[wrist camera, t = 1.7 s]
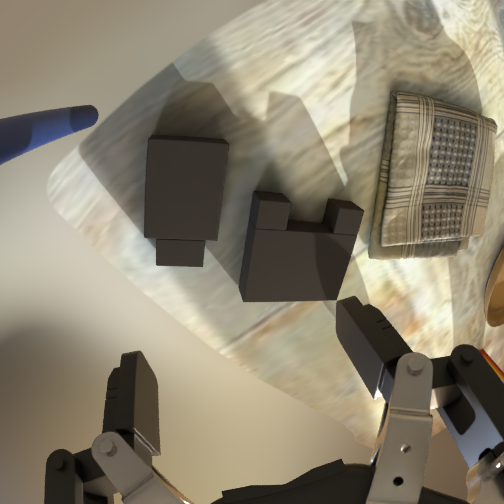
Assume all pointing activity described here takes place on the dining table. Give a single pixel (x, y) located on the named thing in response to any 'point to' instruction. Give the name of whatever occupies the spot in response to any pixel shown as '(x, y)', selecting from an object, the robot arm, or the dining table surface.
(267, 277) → the notch pad
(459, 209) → the dish towel
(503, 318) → the plant saucer
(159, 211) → the pad
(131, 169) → the dining table surface
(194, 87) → the dining table surface
